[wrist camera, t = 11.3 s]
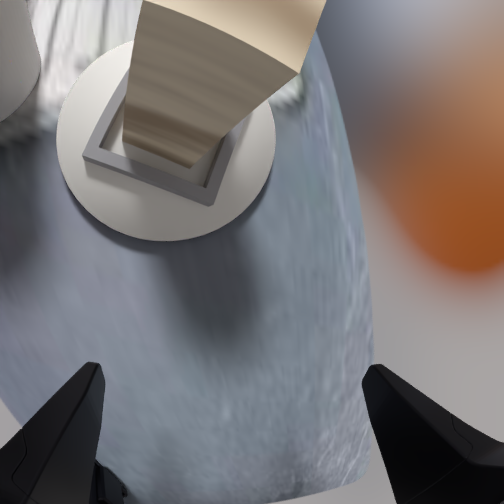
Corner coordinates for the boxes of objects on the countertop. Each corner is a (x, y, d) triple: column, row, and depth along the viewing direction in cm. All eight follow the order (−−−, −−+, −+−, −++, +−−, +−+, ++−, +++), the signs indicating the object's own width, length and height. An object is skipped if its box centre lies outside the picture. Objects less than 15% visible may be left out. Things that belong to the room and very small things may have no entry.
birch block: (189, 168, 19) (299, 73, 7) (121, 141, 17) (143, -1, 5) (215, 109, 20) (327, -4, 8) (154, 82, 18) (215, -62, 6)
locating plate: (233, 270, 22) (253, 275, 19) (24, 197, 15) (7, 189, 12) (290, 93, 23) (313, 77, 20) (124, 20, 17) (129, -7, 14)
